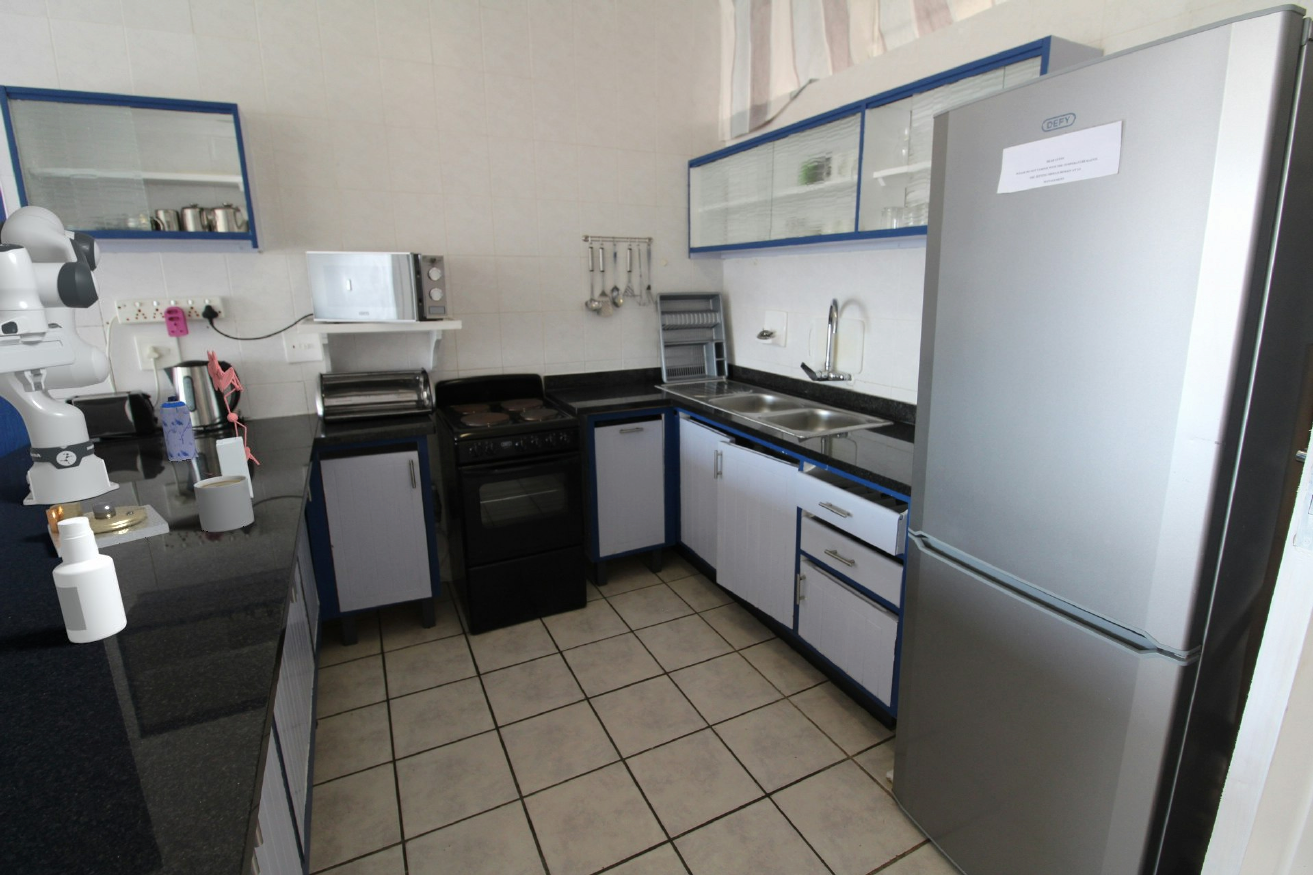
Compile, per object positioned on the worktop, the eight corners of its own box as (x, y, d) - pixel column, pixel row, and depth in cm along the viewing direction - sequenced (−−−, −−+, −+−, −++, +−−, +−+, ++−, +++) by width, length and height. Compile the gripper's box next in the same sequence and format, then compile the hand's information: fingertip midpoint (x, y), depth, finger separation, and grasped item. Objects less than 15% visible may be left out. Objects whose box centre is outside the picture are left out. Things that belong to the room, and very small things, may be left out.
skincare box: (253, 497, 165) (244, 440, 161) (225, 502, 161) (215, 444, 158) (252, 490, 171) (243, 435, 168) (225, 494, 168) (215, 438, 165)
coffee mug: (255, 525, 145) (248, 482, 142) (202, 535, 139) (193, 490, 137) (251, 509, 155) (244, 469, 153) (201, 518, 150) (193, 476, 148)
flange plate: (158, 509, 150) (153, 488, 149) (130, 529, 137) (125, 506, 136) (75, 517, 145) (70, 496, 144) (38, 539, 132) (32, 516, 131)
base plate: (49, 533, 142) (42, 503, 141) (151, 512, 155) (145, 484, 153) (59, 557, 129) (51, 523, 127) (169, 532, 142) (163, 501, 140)
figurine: (249, 454, 211) (228, 345, 202) (269, 469, 192) (246, 350, 184) (193, 464, 201) (168, 351, 192) (207, 481, 182) (180, 356, 174)
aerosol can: (203, 457, 209) (191, 395, 204) (175, 462, 202) (162, 399, 198) (191, 454, 213) (180, 394, 208) (164, 459, 206) (151, 397, 202)
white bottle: (92, 622, 102) (66, 513, 98) (137, 619, 103) (114, 511, 99) (56, 645, 96) (27, 530, 92) (106, 642, 96) (79, 527, 92)
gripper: (47, 322, 145) (61, 384, 148) (-46, 328, 125) (-28, 399, 128) (76, 322, 145) (89, 383, 148) (-12, 327, 125) (6, 398, 128)
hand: (34, 391), depth 138 cm, fingers closed
